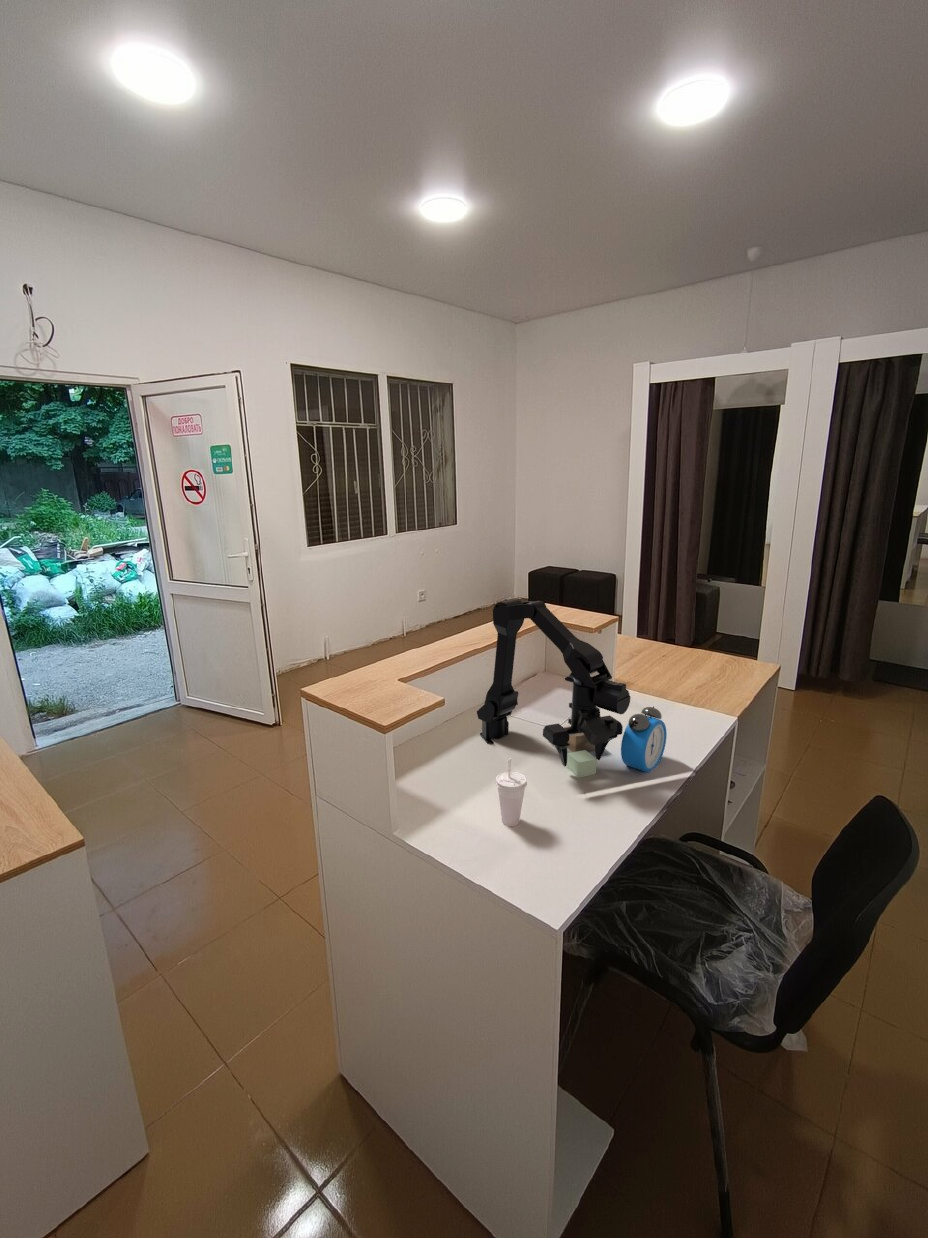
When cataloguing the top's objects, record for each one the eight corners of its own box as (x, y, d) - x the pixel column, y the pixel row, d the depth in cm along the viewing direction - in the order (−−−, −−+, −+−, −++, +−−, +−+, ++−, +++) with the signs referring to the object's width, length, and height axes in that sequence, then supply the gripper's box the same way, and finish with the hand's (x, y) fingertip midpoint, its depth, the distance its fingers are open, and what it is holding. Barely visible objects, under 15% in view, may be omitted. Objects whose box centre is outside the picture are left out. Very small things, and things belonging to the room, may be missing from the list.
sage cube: (577, 781, 134) (578, 762, 132) (566, 772, 138) (567, 753, 137) (595, 778, 135) (596, 759, 134) (584, 768, 140) (585, 750, 139)
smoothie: (506, 808, 122) (507, 749, 119) (531, 819, 118) (533, 758, 115) (489, 822, 117) (489, 760, 114) (514, 833, 113) (515, 770, 110)
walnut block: (575, 754, 145) (576, 736, 144) (563, 744, 150) (564, 727, 149) (595, 750, 147) (596, 733, 145) (583, 741, 152) (584, 724, 151)
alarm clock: (641, 781, 133) (646, 722, 130) (617, 773, 137) (621, 715, 134) (665, 762, 143) (669, 706, 139) (642, 754, 147) (646, 700, 143)
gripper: (566, 720, 122) (563, 785, 126) (639, 709, 128) (634, 771, 132) (542, 702, 132) (540, 763, 136) (610, 692, 138) (607, 751, 142)
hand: (581, 762), depth 136 cm, fingers open, 9 cm apart
